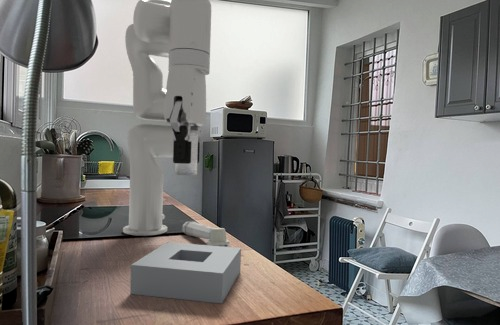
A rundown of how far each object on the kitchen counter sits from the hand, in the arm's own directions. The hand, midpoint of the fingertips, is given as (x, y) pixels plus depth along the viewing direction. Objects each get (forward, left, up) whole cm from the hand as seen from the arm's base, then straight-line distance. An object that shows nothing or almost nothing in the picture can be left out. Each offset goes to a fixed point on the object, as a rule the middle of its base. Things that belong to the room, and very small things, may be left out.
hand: (186, 162), depth 68 cm
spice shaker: (0, 0, -2) cm, 2 cm away
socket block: (0, +1, -22) cm, 23 cm away
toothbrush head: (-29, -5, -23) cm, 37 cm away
